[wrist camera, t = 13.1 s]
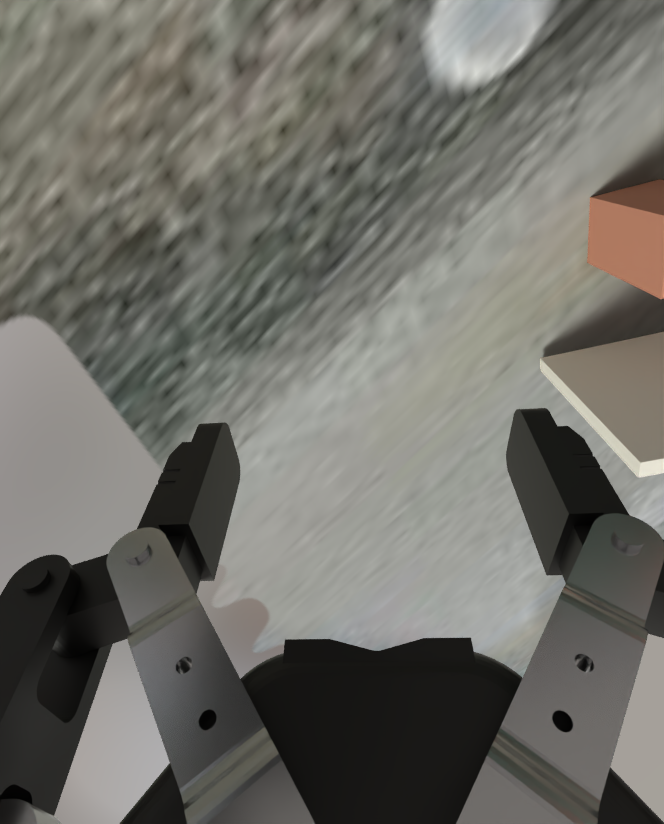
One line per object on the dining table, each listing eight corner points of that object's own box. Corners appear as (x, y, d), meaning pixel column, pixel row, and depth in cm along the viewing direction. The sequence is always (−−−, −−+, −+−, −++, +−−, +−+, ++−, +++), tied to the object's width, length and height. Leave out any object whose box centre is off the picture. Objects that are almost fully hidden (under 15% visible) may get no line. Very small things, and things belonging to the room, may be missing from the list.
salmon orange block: (590, 197, 35) (671, 217, 27) (659, 179, 34) (763, 194, 26) (587, 262, 37) (660, 299, 29) (651, 246, 37) (744, 279, 29)
